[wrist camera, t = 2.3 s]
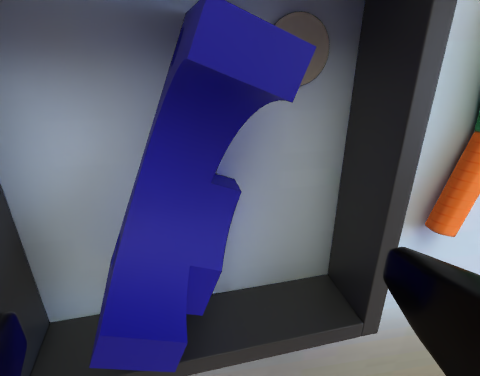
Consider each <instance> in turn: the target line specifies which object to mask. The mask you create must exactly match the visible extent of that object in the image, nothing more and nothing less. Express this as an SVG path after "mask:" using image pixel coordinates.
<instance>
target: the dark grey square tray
mask: <svg viewBox="0 0 480 376" xmlns="http://www.w3.org/2000/svg"><path fill="white" fill-rule="evenodd" d="M456 4H457V0H365V7H364V14H363V21H362V29H361V36H360V43H359V51H358V58H357V65H356V73H355V80H354V87H353V95H352V102H351V109H350V117H349V124H348V131H347V138H346V146H345V153H344V160H343V168H342V175H341V182H340V190H339V197H338V204H337V212H336V219H335V226H334V234H333V241H332V248H331V256H330V263H329V270H328V275H321V276H316V277H310V278H304V279H299V280H293V281H287V282H282V283H276V284H270V285H264V286H259V287H253V288H247V289H242V290H236V291H230V292H225V293H219V294H213V295H211V297H210V299H209V302H208V304H207V306H206V309H205V311H204V313H203V315H202V316H200V315H191V314H186V326H187V341H188V343H187V346H186V348H185V350H184V353H183V355H182V357H181V359H180V362H179V364H178V366H177V369H176V371H175V372H159V371H139V370H119V369H99V368H89V366H90V361H91V356H92V352H93V347H94V342H95V337H96V332H97V327H98V322H99V317H100V314H99V315H94V316H88V317H82V318H76V319H71V320H65V321H59V322H54V323H50V324H49V321H48V318H47V315H46V312H45V310H44V307H43V304H42V301H41V298H40V295H39V293H38V290H37V287H36V284H35V281H34V278H33V276H32V273H31V270H30V267H29V264H28V261H27V258H26V256H25V253H24V250H23V247H22V244H21V241H20V239H19V236H18V233H17V230H16V227H15V224H14V222H13V219H12V216H11V213H10V210H9V207H8V204H7V202H6V199H5V196H4V193H3V190H2V187H1V185H0V313H3V312H9V311H12V312H15V313H16V314H17V316H18V318H19V321H20V323H21V326H22V328H23V331H24V333H25V336H26V339H27V350H26V355H25V359H24V363H23V368H22V372H21V376H188V375H192V374H197V373H201V372H205V371H210V370H214V369H219V368H223V367H228V366H232V365H237V364H241V363H245V362H250V361H254V360H259V359H263V358H268V357H272V356H276V355H281V354H285V353H290V352H294V351H299V350H303V349H307V348H312V347H316V346H321V345H325V344H330V343H334V342H339V341H343V340H347V339H352V338H356V337H360V336H365V335H370V334H374V333H377V332H378V327H379V323H380V319H381V315H382V311H383V307H384V303H385V298H386V294H387V290H388V287H387V285H386V284H385V282H384V279H383V269H384V265H385V260H386V256H387V252H388V251H389V250H390V249H393V248H398V244H399V240H400V236H401V232H402V228H403V224H404V220H405V215H406V211H407V207H408V203H409V199H410V195H411V191H412V186H413V182H414V178H415V174H416V170H417V166H418V161H419V157H420V153H421V149H422V145H423V141H424V137H425V132H426V128H427V124H428V120H429V116H430V112H431V108H432V103H433V99H434V95H435V91H436V87H437V83H438V79H439V74H440V70H441V66H442V62H443V58H444V54H445V49H446V45H447V41H448V37H449V33H450V29H451V25H452V20H453V16H454V12H455V8H456ZM275 26H277V27H279V28H280V29H282V30H284V31H286V32H288V33H290V34H292V35H294V36H296V37H298V38H300V39H302V40H304V41H306V42H308V43H310V44H312V45H314V46H316V49H315V52H314V54H313V56H312V59H311V61H310V63H309V66H308V68H307V70H306V72H305V75H304V77H303V79H302V82H301V84H300V86H301V85H304V84H307V83H309V82H310V81H312V80H313V79H315V78H316V77H317V76H318V75H319V73H320V72H321V71H322V69H323V68H324V66H325V64H326V61H327V58H328V54H329V37H328V34H327V31H326V29H325V27H324V25H323V23H322V22H321V21H320V20H319V19H318V18H317V17H315V16H314V15H312V14H310V13H306V12H294V13H290V14H287V15H285V16H284V17H282V18H281V19H279V20H278V21H277V22H276V23H275Z"/></svg>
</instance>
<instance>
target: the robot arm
mask: <svg viewBox="0 0 480 376" xmlns="http://www.w3.org/2000/svg"><path fill="white" fill-rule="evenodd" d="M383 279H384V282H385V284H386V285H387V287H388V289H389V290H390V292H391V294H392V295H393V297H394V299H395V300H396V302H397V304H398V305H399V307H400V309H401V310H402V312H403V314H404V315H405V317H406V319H407V320H408V322H409V324H410V325H411V327H412V329H413V330H414V332H415V333H416V335H417V336H418V338H419V339H420V341H421V342H422V343H423V345H424V346H425V347H426V349H427V350H428V352H429V353H430V354H431V356H432V357H433V358H434V360H435V361H436V363H437V364H438V365H439V367H440V368H441V369H442V371H443V372H444V374H445V375H446V376H480V275H478V274H475V273H473V272H470V271H467V270H465V269H462V268H459V267H457V266H454V265H451V264H449V263H446V262H443V261H441V260H438V259H435V258H433V257H430V256H427V255H425V254H422V253H419V252H417V251H414V250H411V249H409V248H406V247H399V248H393V249H390V250H389V251H388V252H387V256H386V260H385V265H384V269H383ZM26 350H27V339H26V336H25V333H24V331H23V328H22V326H21V323H20V321H19V318H18V316H17V314H16V313H15V312H12V311H9V312H3V313H0V376H21V372H22V368H23V363H24V359H25V355H26Z"/></svg>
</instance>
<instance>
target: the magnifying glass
mask: <svg viewBox="0 0 480 376" xmlns="http://www.w3.org/2000/svg"><path fill="white" fill-rule="evenodd" d="M479 194H480V110H479V115H478V120H477V123H476V126H475V132H474V133H473V135H472V137H471V138H470V140H469V142H468V144H467V146H466V148H465V150H464V152H463V153H462V155H461V157H460V159H459V161H458V163H457V164H456V166H455V168H454V170H453V172H452V174H451V176H450V178H449V179H448V181H447V183H446V185H445V187H444V189H443V191H442V192H441V194H440V196H439V198H438V200H437V202H436V204H435V206H434V208H433V209H432V211H431V213H430V215H429V217H428V219H427V220H426V222H425V225H426V226H427V227H428V228H429V229H430V230H432V231H434V232H436V233H438V234H441V235H446V236H451V237H455V236H456V234H457V232H458V231H459V229H460V227H461V225H462V224H463V222H464V220H465V218H466V217H467V215H468V213H469V211H470V209H471V208H472V206H473V205H474V202H475V201H476V199H477V198H478V196H479Z"/></svg>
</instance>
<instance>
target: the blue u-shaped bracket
mask: <svg viewBox="0 0 480 376" xmlns="http://www.w3.org/2000/svg"><path fill="white" fill-rule="evenodd" d="M315 49H316V46H314V45H312V44H310V43H308V42H306V41H304V40H302V39H300V38H298V37H296V36H294V35H292V34H290V33H288V32H286V31H284V30H282V29H280V28H279V27H277V26H275V25H273V24H271V23H269V22H267V21H265V20H263V19H261V18H259V17H257V16H255V15H253V14H251V13H249V12H247V11H245V10H243V9H241V8H239V7H237V6H235V5H233V4H231V3H229V2H227V1H225V0H199V1H198V2H197V3H196V4H195V5H194V6H193V7H192V8H191V9H190V10H189V11H188V12H187V13H186V14H185V18H184V21H183V24H182V28H181V31H180V34H179V38H178V41H177V44H176V48H175V51H174V54H173V57H172V61H171V64H170V67H169V71H168V74H167V77H166V81H165V84H164V87H163V90H162V94H161V97H160V100H159V104H158V107H157V110H156V114H155V117H154V120H153V124H152V127H151V130H150V133H149V137H148V140H147V143H146V147H145V150H144V153H143V157H142V160H141V163H140V167H139V170H138V173H137V176H136V180H135V183H134V186H133V190H132V193H131V196H130V200H129V203H128V206H127V209H126V213H125V216H124V219H123V223H122V226H121V229H120V233H119V236H118V239H117V243H116V246H115V249H114V252H113V256H112V259H111V263H110V268H109V273H108V278H107V283H106V288H105V293H104V298H103V302H102V307H101V312H100V317H99V322H98V327H97V332H96V337H95V342H94V347H93V352H92V356H91V361H90V366H89V368H99V369H119V370H139V371H159V372H175V371H176V369H177V366H178V364H179V362H180V359H181V357H182V355H183V353H184V350H185V348H186V346H187V343H188V341H187V326H186V314H191V315H200V316H202V315H203V313H204V311H205V309H206V306H207V304H208V302H209V299H210V297H211V295H212V293H213V290H214V288H215V286H216V283H217V281H218V279H219V277H220V274H221V272H222V266H223V258H224V252H225V246H226V241H227V236H228V232H229V228H230V224H231V221H232V217H233V214H234V211H235V208H236V205H237V202H238V200H239V197H240V194H241V190H240V188H239V186H238V185H237V183H236V181H235V179H232V178H228V177H225V176H221V175H218V174H215V172H216V170H217V168H218V166H219V164H220V161H221V159H222V157H223V155H224V154H225V152H226V150H227V148H228V146H229V145H230V143H231V141H232V140H233V138H234V137H235V135H236V134H237V132H238V131H239V129H240V128H241V127H242V126H243V124H244V123H245V122H246V121H247V120H248V119H249V118H250V117H251V116H252V115H253V114H254V113H255V112H256V111H257V110H258V109H260V108H261V107H263V106H264V105H266V104H269V103H271V102H274V101H278V100H286V101H289V102H293V100H294V98H295V95H296V93H297V91H298V89H299V86H300V84H301V82H302V79H303V77H304V75H305V72H306V70H307V68H308V66H309V63H310V61H311V59H312V56H313V54H314V52H315Z"/></svg>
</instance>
